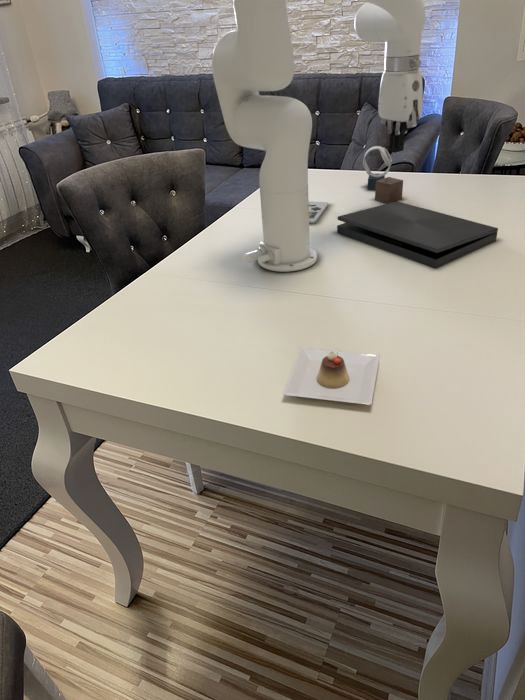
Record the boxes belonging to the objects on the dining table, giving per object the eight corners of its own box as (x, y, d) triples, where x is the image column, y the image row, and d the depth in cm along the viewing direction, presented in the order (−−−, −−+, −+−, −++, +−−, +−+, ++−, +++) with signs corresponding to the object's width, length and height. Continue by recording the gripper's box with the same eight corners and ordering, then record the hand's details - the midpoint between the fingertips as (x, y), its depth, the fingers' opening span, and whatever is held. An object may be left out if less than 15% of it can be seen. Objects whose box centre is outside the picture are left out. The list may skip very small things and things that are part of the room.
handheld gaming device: (329, 201, 142) (315, 220, 130) (329, 204, 142) (315, 223, 130) (297, 200, 144) (280, 219, 133) (297, 203, 145) (280, 222, 133)
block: (389, 203, 139) (390, 184, 137) (374, 199, 143) (375, 180, 140) (402, 199, 142) (403, 180, 139) (387, 195, 145) (388, 176, 142)
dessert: (371, 411, 70) (372, 381, 67) (282, 400, 73) (280, 372, 71) (379, 360, 80) (381, 333, 77) (300, 353, 83) (299, 326, 80)
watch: (390, 190, 149) (392, 149, 143) (361, 190, 151) (362, 149, 145) (391, 184, 153) (393, 144, 147) (363, 184, 155) (364, 144, 149)
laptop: (435, 268, 105) (436, 259, 104) (337, 232, 124) (337, 225, 123) (496, 240, 114) (497, 231, 113) (395, 211, 134) (396, 204, 133)
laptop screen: (436, 253, 103) (437, 249, 103) (337, 220, 123) (337, 216, 122) (497, 232, 113) (498, 228, 113) (396, 204, 133) (396, 200, 132)
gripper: (439, 64, 114) (430, 153, 124) (390, 62, 125) (386, 143, 135) (413, 68, 111) (407, 159, 121) (365, 65, 122) (363, 149, 132)
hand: (396, 151), depth 128 cm, fingers closed
